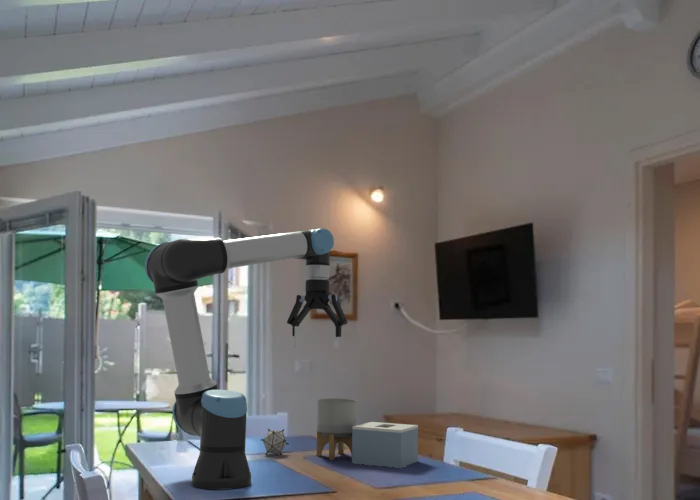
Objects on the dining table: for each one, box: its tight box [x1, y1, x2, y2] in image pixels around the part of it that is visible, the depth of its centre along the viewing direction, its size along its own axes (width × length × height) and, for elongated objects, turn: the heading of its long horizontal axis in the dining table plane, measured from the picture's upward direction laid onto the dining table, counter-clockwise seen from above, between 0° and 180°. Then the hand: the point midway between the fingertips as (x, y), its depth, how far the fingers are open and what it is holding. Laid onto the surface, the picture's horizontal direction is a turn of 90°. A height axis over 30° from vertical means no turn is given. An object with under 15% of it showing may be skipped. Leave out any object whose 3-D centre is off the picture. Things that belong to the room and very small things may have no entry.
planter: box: [316, 397, 358, 461], centre depth 228 cm, size 13×13×18 cm
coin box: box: [351, 421, 419, 469], centre depth 218 cm, size 14×16×11 cm
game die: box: [260, 428, 289, 456], centre depth 230 cm, size 9×8×10 cm
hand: (316, 347), depth 220 cm, fingers open, 13 cm apart
